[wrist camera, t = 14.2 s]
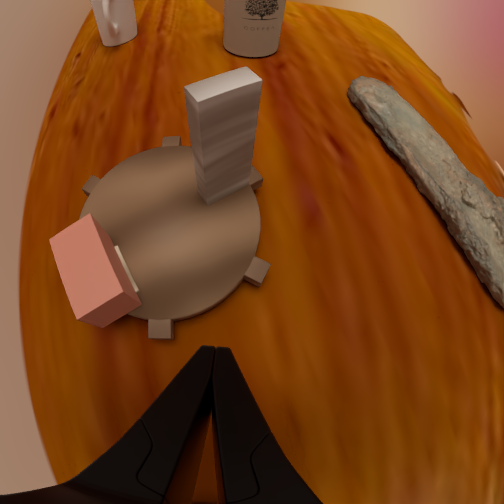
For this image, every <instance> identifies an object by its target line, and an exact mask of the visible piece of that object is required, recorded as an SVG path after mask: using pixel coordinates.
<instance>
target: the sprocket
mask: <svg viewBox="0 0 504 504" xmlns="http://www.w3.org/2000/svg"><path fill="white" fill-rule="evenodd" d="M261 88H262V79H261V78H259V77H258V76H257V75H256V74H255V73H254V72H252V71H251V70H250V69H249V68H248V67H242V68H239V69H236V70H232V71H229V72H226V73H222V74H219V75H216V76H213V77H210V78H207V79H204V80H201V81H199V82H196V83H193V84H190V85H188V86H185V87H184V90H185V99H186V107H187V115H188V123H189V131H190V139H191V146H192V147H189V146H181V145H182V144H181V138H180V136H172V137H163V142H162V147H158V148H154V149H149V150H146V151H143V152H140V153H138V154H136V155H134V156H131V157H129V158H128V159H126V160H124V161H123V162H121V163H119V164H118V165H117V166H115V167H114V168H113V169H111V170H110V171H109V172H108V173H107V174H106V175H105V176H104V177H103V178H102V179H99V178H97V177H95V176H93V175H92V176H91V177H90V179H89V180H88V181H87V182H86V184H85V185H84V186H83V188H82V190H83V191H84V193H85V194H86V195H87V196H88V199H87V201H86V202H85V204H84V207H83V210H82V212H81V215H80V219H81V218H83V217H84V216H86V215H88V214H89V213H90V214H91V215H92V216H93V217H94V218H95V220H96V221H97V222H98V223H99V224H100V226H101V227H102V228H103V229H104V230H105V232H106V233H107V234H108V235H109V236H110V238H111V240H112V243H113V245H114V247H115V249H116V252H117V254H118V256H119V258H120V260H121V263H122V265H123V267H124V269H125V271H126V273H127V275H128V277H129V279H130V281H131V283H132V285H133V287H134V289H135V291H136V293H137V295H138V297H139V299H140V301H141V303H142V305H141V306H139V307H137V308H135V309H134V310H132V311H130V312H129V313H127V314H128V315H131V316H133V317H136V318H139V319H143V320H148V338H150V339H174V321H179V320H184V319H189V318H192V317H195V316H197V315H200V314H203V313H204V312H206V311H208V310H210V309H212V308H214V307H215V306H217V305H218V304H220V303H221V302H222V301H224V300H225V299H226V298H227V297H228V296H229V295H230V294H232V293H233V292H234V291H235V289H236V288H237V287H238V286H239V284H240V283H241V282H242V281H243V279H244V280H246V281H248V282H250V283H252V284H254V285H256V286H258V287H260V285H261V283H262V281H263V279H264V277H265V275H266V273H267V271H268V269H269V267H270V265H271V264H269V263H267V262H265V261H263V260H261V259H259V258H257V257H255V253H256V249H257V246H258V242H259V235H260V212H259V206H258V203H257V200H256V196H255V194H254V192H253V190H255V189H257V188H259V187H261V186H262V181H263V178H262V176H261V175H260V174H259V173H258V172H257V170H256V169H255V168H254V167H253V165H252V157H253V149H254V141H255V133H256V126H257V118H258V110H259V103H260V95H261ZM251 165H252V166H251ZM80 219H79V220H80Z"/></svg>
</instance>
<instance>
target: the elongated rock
mask: <svg viewBox="0 0 504 504" xmlns="http://www.w3.org/2000/svg"><path fill="white" fill-rule="evenodd" d="M348 97H349V98H350V101H351V102H352V103H353V104H355V106H356V107H357V108H358V109H359V110H360V111H361V112H362V114H363V116H364V117H365V119H366V120H367V121H368V122H370V123H371V124H372V125H373V127H374V129H375V131H376V132H377V134H378V135H379V136H380V137H381V138H382V139H383V141H384V142H385V144H386V145H387V147H388V149H389V150H390V151H392V152H394V154H395V155H396V156H397V157H398V158H399V159H400V161H401V163H402V164H403V166H405V168H406V171H407V172H408V173H409V175H410V176H412V177H413V179H414V181H415V182H416V184H417V188H418V190H419V191H420V193H422V194H424V195H425V196H426V197H427V198H428V199H429V200H430V201H431V203H432V204H433V205H434V207H435V209H436V210H437V211H438V212H439V213H440V215H441V218H442V219H444V220H445V222H446V224H447V226H448V231H449V232H450V234H451V235H453V237H454V238H455V240H456V242H457V243H458V245H459V246H460V247H461V248H462V249H463V250H464V253H465V255H466V256H467V258H468V260H469V261H470V262H471V265H472V266H473V268H474V269H475V272H476V274H477V276H478V278H479V279H480V281H481V283H485V284H486V286H487V288H488V290H489V291H490V293H491V294H492V296H493V298H494V299H495V300H496V301H497V302H498V303H499V304H500V305H501V306H502V307H503V308H504V199H503V198H502V197H496V196H495V195H494V194H493V193H492V192H490V191H489V190H488V189H487V188H486V186H485V184H484V183H483V181H482V180H481V179H479V178H477V177H475V176H474V175H473V174H471V173H470V172H469V171H468V170H467V169H466V168H465V166H464V165H463V164H462V163H461V162H460V160H459V159H458V158H457V155H456V154H454V152H453V150H452V149H451V148H450V146H448V144H447V143H446V142H445V140H444V139H443V138H442V137H440V135H439V134H438V133H437V132H436V131H435V130H434V129H433V128H432V127H431V126H430V125H429V124H428V122H427V121H426V120H425V119H424V118H423V117H422V116H421V115H420V114H419V113H418V112H417V111H416V110H415V109H414V108H413V107H412V106H411V105H410V104H409V103H408V102H407V101H405V100H404V99H403V98H402V97H401V96H399V94H398V93H397V92H396V91H395V90H394V89H393V87H392V86H387V85H386V84H385V83H383V82H381V81H379V80H376V79H375V78H367V77H364V76H360V77H359V78H357V79H355V80H352V83H351V85H350V87H349V91H348Z"/></svg>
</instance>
